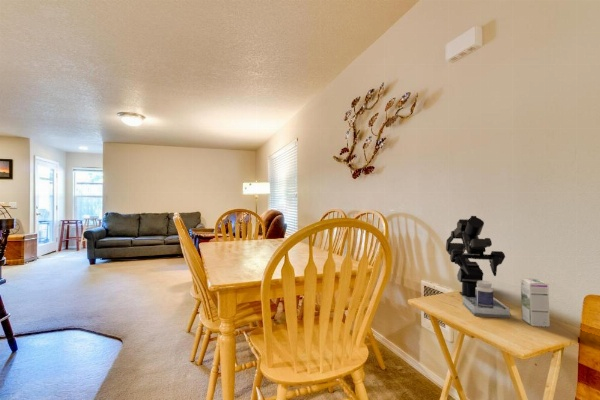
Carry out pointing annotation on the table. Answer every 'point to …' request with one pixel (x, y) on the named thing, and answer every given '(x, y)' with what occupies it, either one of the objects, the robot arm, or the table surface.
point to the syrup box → (535, 302)
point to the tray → (486, 308)
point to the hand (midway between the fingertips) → (481, 275)
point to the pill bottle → (484, 294)
